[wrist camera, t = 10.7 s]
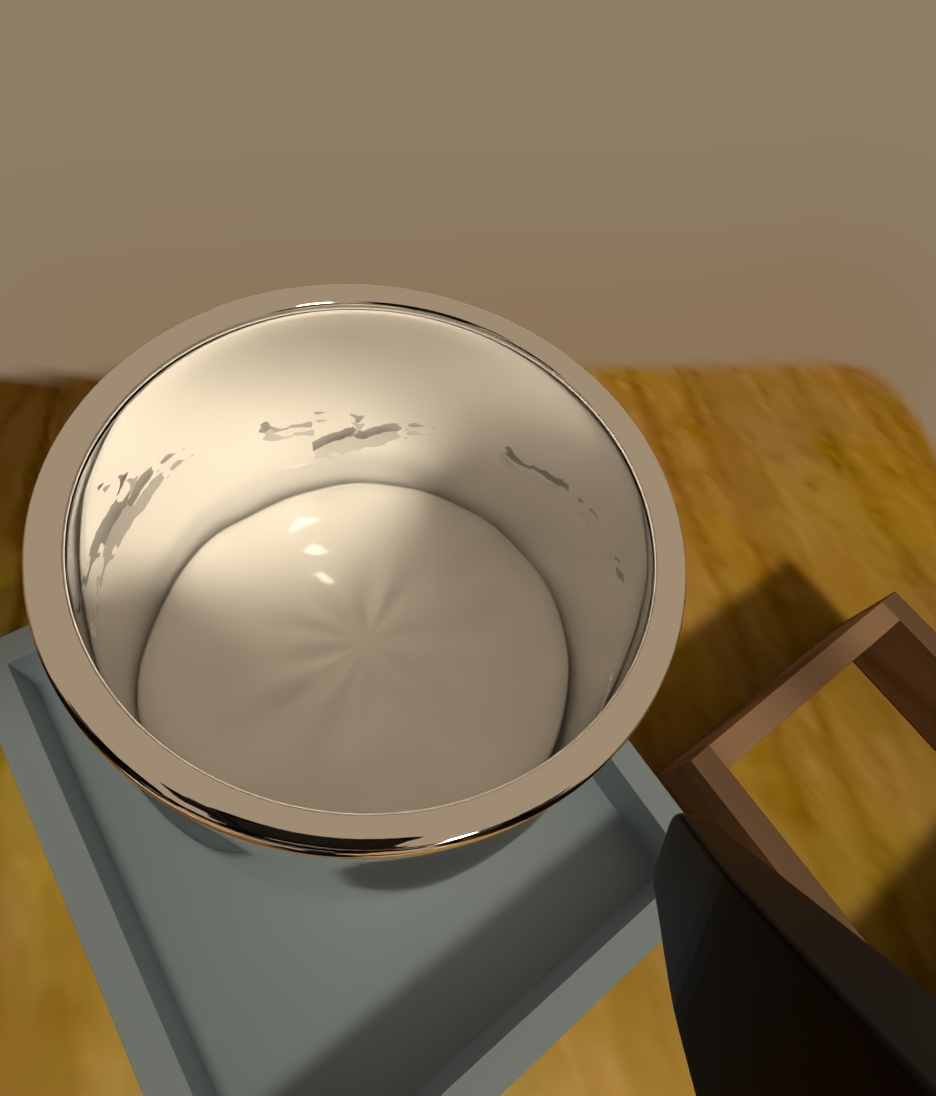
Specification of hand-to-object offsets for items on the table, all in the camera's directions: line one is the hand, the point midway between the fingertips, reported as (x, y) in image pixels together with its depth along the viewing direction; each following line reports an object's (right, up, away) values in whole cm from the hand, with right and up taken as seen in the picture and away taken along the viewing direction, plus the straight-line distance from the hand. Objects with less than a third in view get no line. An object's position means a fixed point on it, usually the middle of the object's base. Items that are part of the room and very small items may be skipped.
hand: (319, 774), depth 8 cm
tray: (-2, -4, +12) cm, 13 cm away
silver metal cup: (-2, -4, +12) cm, 12 cm away
